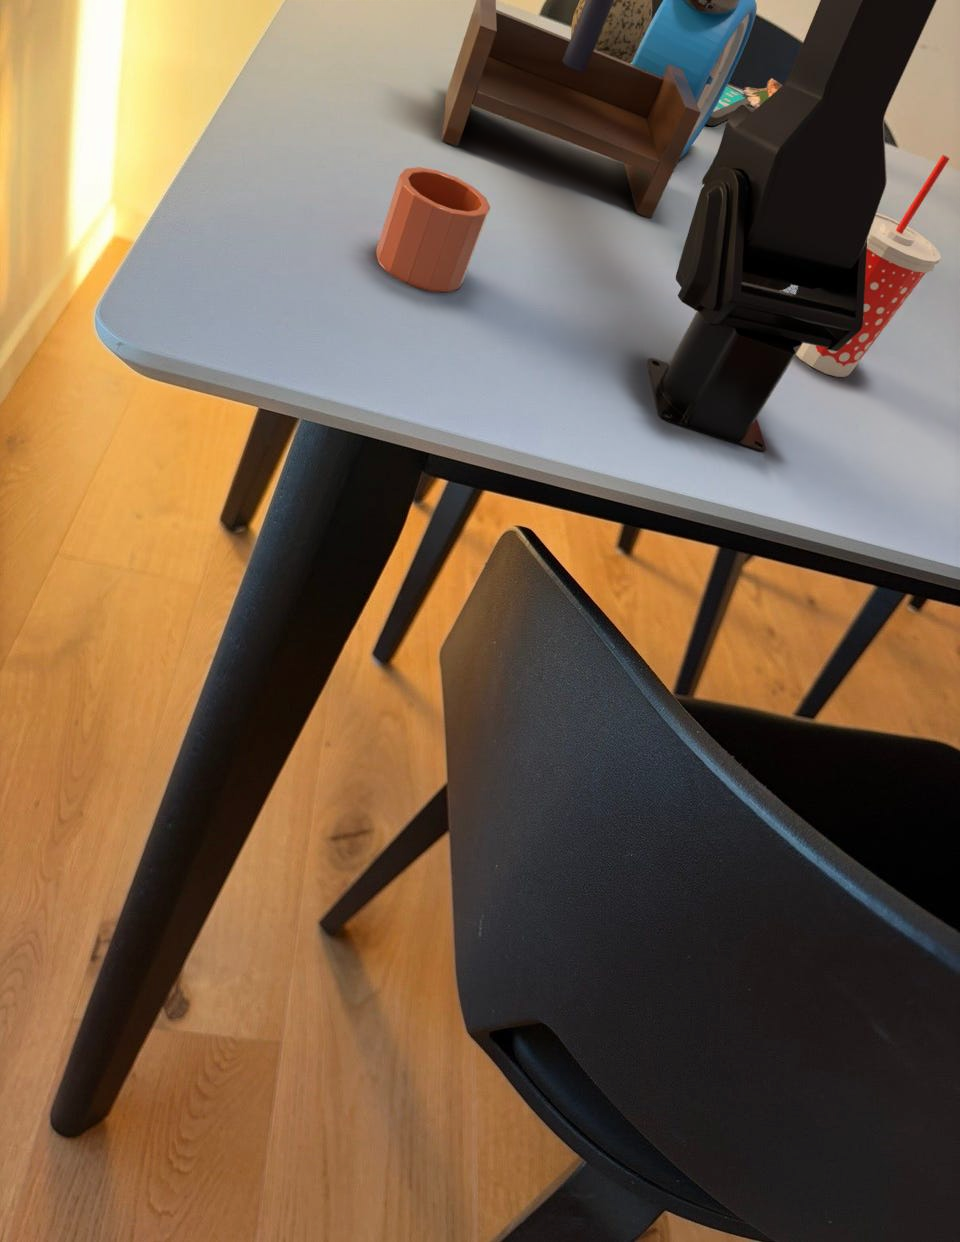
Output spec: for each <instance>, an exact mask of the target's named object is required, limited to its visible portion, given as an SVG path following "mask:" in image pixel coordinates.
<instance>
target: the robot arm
mask: <svg viewBox="0 0 960 1242" xmlns="http://www.w3.org/2000/svg"><path fill="white" fill-rule="evenodd" d="M937 1H938V0H819V3H818V6H817V8H816V10H815V13H814V15H813V18H812V20H811V23H810V25H809V28H808V29H807V32H806V35H805V37H804V39H803V41H802V44H801V47H800V49H799V52H798V54H797V57H796V59H795V61H794V64H793V66H792V69H791V71H790V73H789V75H788V76H787V79H786V81H785V82H784V83H783V84H782V86H781V87H780V88H779V89H778V90H777V91H776V92H775V93H773V94H772V95H771V96H770V97H769V98H768V99H767V100H766V101H764V102H763V103H762V104H761V105H760V106H759V107H758V108H754V107H752V106H749V107H748V106H745V105H740V106H739V107H738V108H737V109H736V110H735V111H734V113H733V114H732V115H731V116H730V118H729V119H727V120H726V124H725V127H724V131H723V134H722V137H721V141H720V143H719V146H718V149H717V152H716V154H715V157H714V159H713V161H712V163H711V165H710V167H709V168H708V170H707V172H706V173H705V174H704V176H703V178H702V180H701V183H702V185H703V186H702V187H701V189H700V192H699V194H698V198H697V201H696V205H695V209H694V212H693V215H692V217H691V221H690V225H689V229H688V231H687V236H686V239H685V242H684V244H683V245H684V246H683V249H682V252H681V255H680V259H679V262H678V267H677V269H676V272H675V273H676V274H675V281H676V282H677V283H678V285H679V286H680V290H679V291H678V293H677V298H678V299H679V300H680V301H681V303H682V304H684V305H686V306H687V307H689V308H691V309H692V310H694V311H696V312H695V314H694V316H693V318H692V319H691V322H690V323H689V325H688V327H687V328H686V331H685V333H684V335H683V336H682V338H681V340H680V342H679V344H678V346H677V348H676V349H675V352H674V354H673V356H672V357H671V358H670V359H671V360H670V361H669V363H668V362H664V361H662V360H659V359H657V358H653V357H651V358H648V359H647V361H646V367H647V371H648V375H649V380H650V384H651V385H650V386H651V389H652V393H653V398H654V399H653V400H654V403H655V407H656V412H657V416H658V418H660V420H662V421H664V422H665V423H669V424H672V425H675V426H677V427H681V428H683V429H687V430H689V431H693V432H696V433H699V434H702V435H705V436H709V437H712V438H715V439H717V440H721V441H723V442H727V443H731V444H733V445H736V446H739V447H742V448H745V449H748V450H751V451H755V452H757V453H761V454H762V455H764V454H765V452H766V450H767V444H766V442H765V439H764V436H763V433H762V430H761V427H760V424H759V421H758V417H759V415H760V413H761V412H762V411H763V409H764V407H765V405H766V404H767V402H768V400H769V399H770V398H771V396H772V394H773V392H774V391H775V389H776V388H777V386H778V384H779V383H780V381H781V380H782V378H783V376H784V374H785V373H786V371H787V369H788V368H789V366H790V365H791V363H792V361H793V360H794V358H795V356H797V355H796V353H797V352H798V350H799V348H800V347H801V345H802V343H807V344H812V345H816V346H821V347H826V348H827V349H828V350H832V351H838V350H840V349H841V348H842V347H843V346H844V345H845V344H846V343H847V342H848V341H849V340H851V339H852V338H853V337H854V336H855V335H856V334H857V333H858V332H859V331H860V330H861V329H862V326H863V314H864V295H865V275H866V256H867V238H868V235H869V232H870V229H871V226H872V224H873V221H874V218H875V215H876V213H878V212H877V211H878V210H879V206H880V204H881V201H882V198H883V195H884V193H885V190H886V187H887V181H888V179H887V177H888V176H887V161H886V160H887V157H886V156H887V155H886V137H885V135H886V134H885V116H886V115H887V110H888V108H889V106H890V104H891V101H892V99H893V97H894V95H895V93H896V91H897V88H898V86H899V84H900V82H901V79H902V77H903V76H904V73H905V71H906V69H907V67H908V65H909V62H910V60H911V58H912V56H913V54H914V51H915V49H916V47H917V45H918V43H919V40H920V38H921V36H922V35H923V31H924V30H925V27H926V25H927V23H928V21H929V19H930V16H931V14H932V12H933V9H934V8H935V5H936V3H937ZM742 273H746V274H751V275H755V276H759V277H763V278H767V279H771V280H776V281H780V282H784V283H788V284H791V286H797V288H796V291H795V293H791V292H787V291H784V290H780V291H779V290H774V289H770V288H766V287H762V286H757V285H753V284H749V283H745V282H742Z"/></svg>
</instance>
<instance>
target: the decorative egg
mask: <svg viewBox="0 0 960 1242" xmlns="http://www.w3.org/2000/svg"><path fill="white" fill-rule="evenodd" d="M585 1H586V0H579V2H578V4H577V6H576V8H575V10H574V13H573V17H572V22H571V26H570V27H571V28H570V38H571V37H572V34H573V32H574V29H575V27H576V24H577V22H578V19H579V16H580V14H581V11H582V9H583V6H584V4H585ZM652 19H653V0H614V2H613V4H612V7H611V9H610V12H609V14H608V17H607V19H606V21H605V24H604V26H603V29H602V31H601V34H600V36H599V39H598V41H597V44H596V46H595V50H598V51H600V52H602V53H605V54H607V55H610V56H612V57H615V58H617V59H620V60H622V61H625V62H627V63H630V64H631V63H632V61H633V59H634V56H635V54H636V52H637V50H638V47H639V45H640V43H641V41H642V39H643V37H644V35H645V33H646V31H647V29H648V27H649V25H650V23H651V21H652Z"/></svg>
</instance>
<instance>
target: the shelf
mask: <svg viewBox="0 0 960 1242" xmlns="http://www.w3.org/2000/svg"><path fill="white" fill-rule="evenodd" d="M496 3H497V0H476V1H475V4H474V7H473V9H472V13H471V16H470V19H469V21H468V26H467V28H466V31H465V35H464V38H463V41H462V44H461V47H460V50H459V54H458V56H457V59H456V62H455V66H454V68H453V72H452V75H451V79H450V81H449V84H448V87H447V90H446V94H445V101H444V102H445V103H444V114H443V127H442V138H441V139H442V140H441V141H442V142H444V143H447V144H449V145H452V146H455V147H458V146H459V145H460V142H461V140H462V139H461V138H462V135H463V133H464V130H465V127H466V124H467V121H468V118H469V115H470V112H471V110H472V106H473V107H476V108H478V109H481V110H484V111H486V112H489V113H492V114H494V115H497V116H499V117H502V118H505V119H507V120H510V121H512V122H515V123H518V124H520V125H523V126H526V127H529V128H531V129H534V130H536V131H539V132H541V133H543V134H544V133H545V134H546V135H550V136H552V137H554V138H556V139H560V140H563V141H564V142H567V143H570V144H573V145H576V146H578V147H581V148H583V149H586V150H589V151H590V152H591V151H592V152H594V153H596V154H599V155H601V156H603V157H606V158H609V159H612V160H615V161H618V162H620V163H623V164H624V168H625V172H626V177H627V181H628V184H629V188H630V192H631V196H632V200H633V204H634V208H635V212H636V214H638V215H640V216H644V217H646V218H649V219H652V218H653V215H654V214H655V211H656V209H657V207H658V205H659V203H660V200H661V198H662V197H663V194H664V192H665V190H666V189H667V185H668V184H669V182H670V179H671V177H672V175H673V173H674V171H675V169H676V166H677V164H678V162H679V160H680V158H681V157H680V156H681V154H682V152H683V150H684V148H685V145H686V143H687V141H688V139H689V137H690V135H691V133H692V131H693V129H694V126H695V124H696V122H697V120H698V118H699V116H700V114H701V112H700V110H699V107H698V105H697V103H696V100H695V98H694V96H693V93H692V91H691V89H690V86H689V84H688V82H687V79H686V77H685V75H684V72H683V70H682V69H681V68H678V67H676V66H673V65H671V64H668V65H667V68H666V70H665V72H664V74H663V77H662V76H659V75H657V74H655V73H652V72H650V71H647V70H645V69H642V68H640V67H637V66H635V65H632V64H631V63H627V62H625V61H622V60H620V59H617V58H615V57H612V56H610V55H607V54H605V53H602V52H600V51H598V50H595V49H594V51H593V54H592V56H591V59H590V61H589V64H588V66H587V68H586V71H585V72H578V71H575V70H573V69H570V68H569V67H567V66H566V65H565V64H564V63H563V62H562V60H563V58H564V55H565V52H566V50H567V47H568V45H569V42H570V40H571V38H568V37H565V36H563V35H560V34H558V33H555V32H553V31H550V30H548V29H545V28H543V27H540V26H538V25H535V24H533V23H530V22H528V21H526V20H523V19H521V18H518V17H516V16H513V15H510V14H508V13H505V12H503V11H501V10H498V9H497V4H496Z"/></svg>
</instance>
